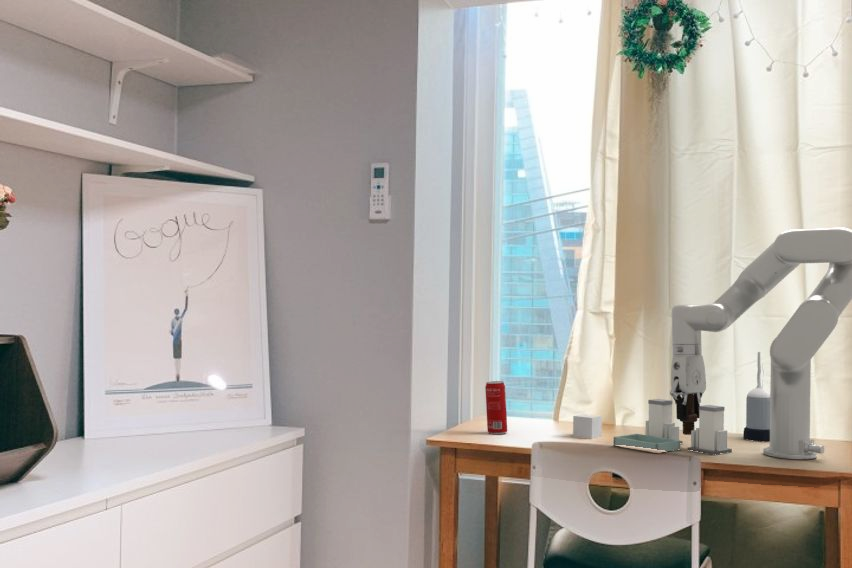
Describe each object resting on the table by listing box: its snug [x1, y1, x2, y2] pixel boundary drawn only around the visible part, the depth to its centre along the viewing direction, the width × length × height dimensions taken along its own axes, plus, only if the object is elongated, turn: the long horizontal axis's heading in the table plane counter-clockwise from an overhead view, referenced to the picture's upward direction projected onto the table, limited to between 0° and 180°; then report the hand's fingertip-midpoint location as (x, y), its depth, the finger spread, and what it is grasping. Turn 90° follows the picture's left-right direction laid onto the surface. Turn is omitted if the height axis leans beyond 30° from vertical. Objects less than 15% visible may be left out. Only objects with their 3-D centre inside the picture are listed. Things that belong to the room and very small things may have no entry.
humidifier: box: [742, 351, 770, 443], centre depth 250 cm, size 8×8×25 cm
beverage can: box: [484, 380, 508, 435], centre depth 254 cm, size 6×6×15 cm
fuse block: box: [644, 398, 733, 456], centre depth 234 cm, size 23×8×12 cm, turn 39°
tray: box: [613, 433, 681, 452], centre depth 232 cm, size 14×10×2 cm
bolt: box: [679, 380, 698, 436], centre depth 234 cm, size 6×5×15 cm
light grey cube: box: [572, 413, 603, 440], centre depth 250 cm, size 6×6×6 cm
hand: (688, 417), depth 234 cm, fingers closed on bolt, 4 cm apart
